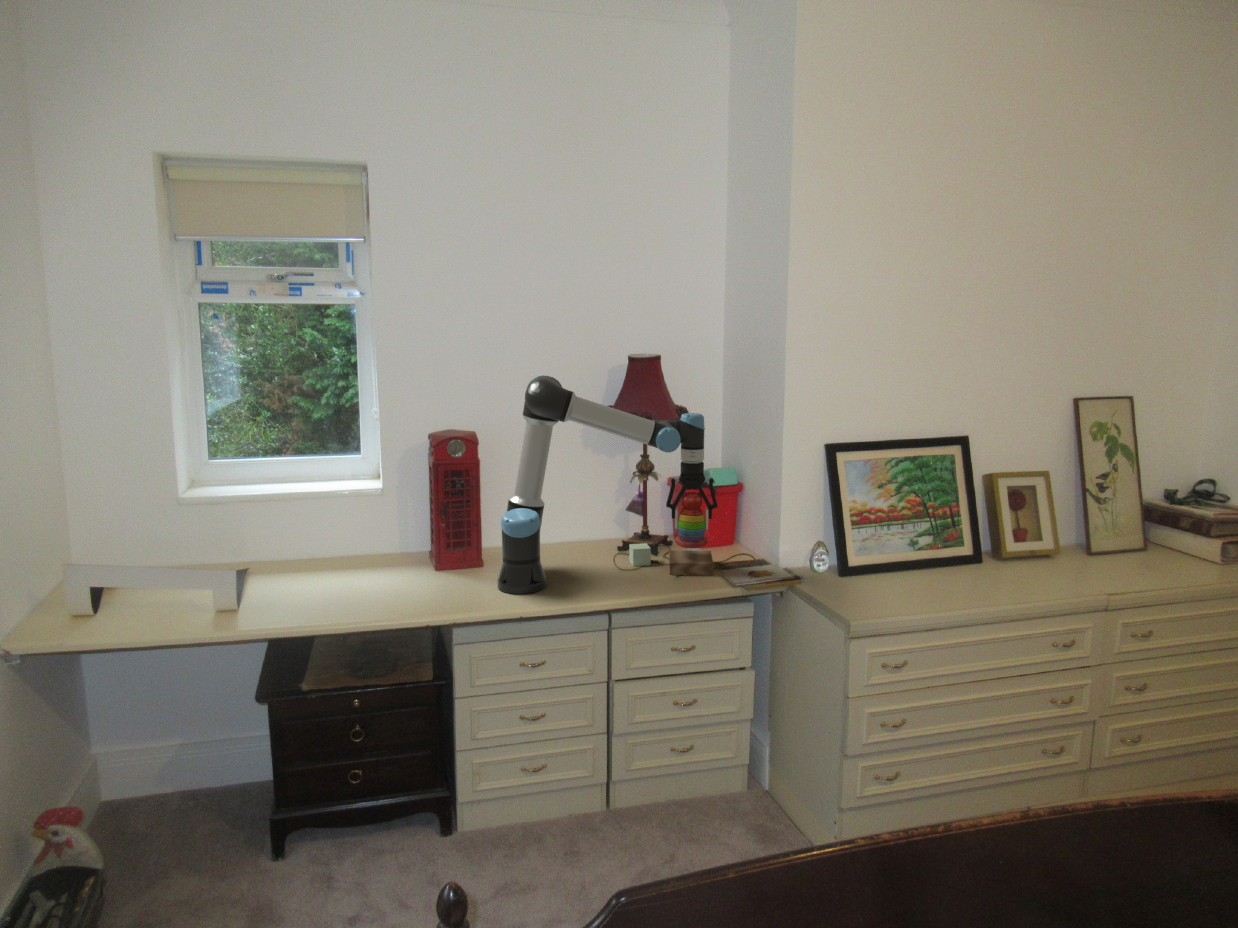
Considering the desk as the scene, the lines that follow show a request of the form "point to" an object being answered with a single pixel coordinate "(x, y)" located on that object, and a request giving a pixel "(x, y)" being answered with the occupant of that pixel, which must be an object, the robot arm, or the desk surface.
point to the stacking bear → (691, 522)
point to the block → (640, 554)
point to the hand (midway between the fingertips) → (691, 528)
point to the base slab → (690, 562)
